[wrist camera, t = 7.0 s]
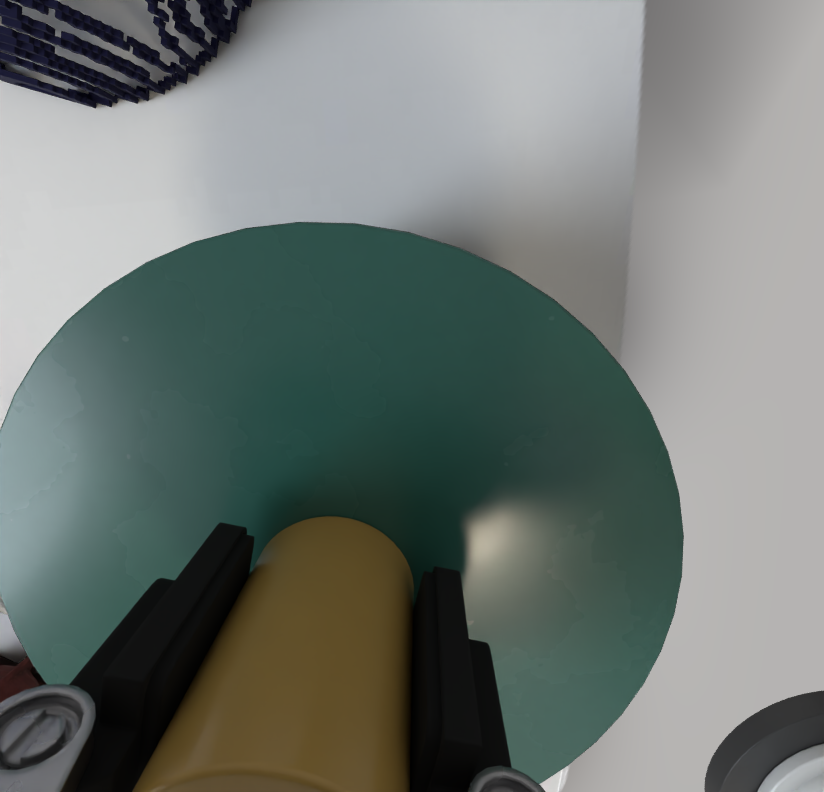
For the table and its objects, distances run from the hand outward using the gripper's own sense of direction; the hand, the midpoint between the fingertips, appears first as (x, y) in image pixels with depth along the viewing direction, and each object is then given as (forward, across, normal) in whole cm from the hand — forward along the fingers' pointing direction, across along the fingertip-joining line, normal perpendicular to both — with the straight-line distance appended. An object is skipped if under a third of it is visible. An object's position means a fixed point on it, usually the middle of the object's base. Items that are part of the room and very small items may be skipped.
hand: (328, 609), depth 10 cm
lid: (+1, 0, 0) cm, 1 cm away
